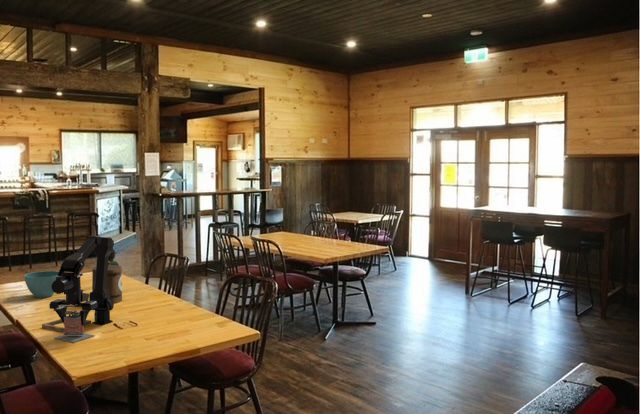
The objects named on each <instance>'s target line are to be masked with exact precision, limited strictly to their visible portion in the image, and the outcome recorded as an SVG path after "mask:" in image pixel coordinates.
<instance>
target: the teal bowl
mask: <svg viewBox="0 0 640 414" xmlns="http://www.w3.org/2000/svg"><path fill="white" fill-rule="evenodd" d="M58 273H59V271H57V270H45V271H33V272H29V273H26V274H25V275H24V277H23V278H24V283H25V285H26V287H27V290H28V291H29V292H30V294H32V295H33V296H34V297H35V298H39V299H43V298H49V297H52V296H54V294H55V293H54V292H53V290H52V287H51V286H52V283H53V282H54V281H55V280H56V277H59V276H58Z"/></svg>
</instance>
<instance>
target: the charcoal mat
mask: <svg viewBox="0 0 640 414" xmlns="http://www.w3.org/2000/svg"><path fill="white" fill-rule="evenodd" d="M93 337H95V335H94V334H90V333H85V332H84V335H75V336H70V335H64V334H62V335H59V336H55V337H54V338H53V339H54V340H58V341H62V342H63V341H64V342H68V343H72V344H76V343H79V342H81V341H85V340H87V339H91V338H93Z"/></svg>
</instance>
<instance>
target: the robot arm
mask: <svg viewBox="0 0 640 414" xmlns="http://www.w3.org/2000/svg"><path fill="white" fill-rule="evenodd" d="M114 246H115V242H114V239H113V238H112V237H108V236H106V237H105V236H99V235H87V237H86V240H85V241H84V242H83V243H82V244H81V246H80V247H79V248H78V249H77V250H76V252H75V253H73V254H71V255H69V256H67V257H66V258H65V259H63V261H62V263H61V265H60V267H59V271H58V272H59V273H58V276H59V277H56V280H55V281H54V282H53V283H52V286H51V287H52V290H53V292H54V294H56V295H61V294H63V295H65V299H62V298H57V299H54V300H52V301H50V302H49V304H48V305H49V307H48V308H49V309H51V310H53V311H54V312H56V314H57V315H58V317H59V319H61V320H62V322H63V323H62V324H63V325H64V317H65V316H67V315H65V312H66V311H68V308H69V307H70V308H81V310H79V312H80V317H81V324H82V326H83V325H84V324H85V321H86V320H87V318H88V315H89V313H90V312H91V311H94V313H93V315H94V321H91V324H95V325H100V326H103V325H107V324H109V323H113V320H112V319H111V311H113V309H114V306H115V305H114V304H115V303H113V302H112V301H111V300H110V294H109V292H108V290H107V288H106V286H107V271H108V257H109V255H110V254H111V252H112V251H113V249H114ZM92 252H94V253H95V255H96V266H95V267H96V279H95V289H94V290H93V291H92V290H91V291H90V292H89V293H88V292H87V293H86V292H84V290H83V289H81V288H82V287H81V283H82V282H81V277H82V276H84V274H83V272H82V271H83V269H84V267H85V261H86V259H88V257H89V256H90V255H91V253H92Z"/></svg>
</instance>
